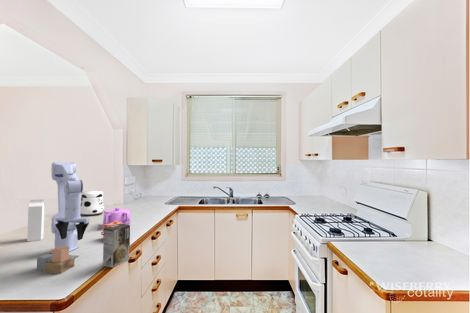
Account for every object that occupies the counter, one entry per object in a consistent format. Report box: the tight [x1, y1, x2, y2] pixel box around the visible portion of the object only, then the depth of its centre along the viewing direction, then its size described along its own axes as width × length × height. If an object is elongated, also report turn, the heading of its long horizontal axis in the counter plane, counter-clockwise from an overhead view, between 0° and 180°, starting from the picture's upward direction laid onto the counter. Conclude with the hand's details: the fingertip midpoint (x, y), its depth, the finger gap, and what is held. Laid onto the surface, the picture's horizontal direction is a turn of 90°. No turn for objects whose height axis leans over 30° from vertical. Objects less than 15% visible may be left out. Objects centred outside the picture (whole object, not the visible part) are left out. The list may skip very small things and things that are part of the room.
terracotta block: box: [51, 246, 70, 263], centre depth 100 cm, size 4×4×5 cm
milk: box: [26, 199, 45, 242], centre depth 135 cm, size 6×6×22 cm
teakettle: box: [102, 206, 131, 228], centre depth 166 cm, size 17×17×12 cm
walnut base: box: [44, 257, 76, 274], centre depth 100 cm, size 7×7×4 cm
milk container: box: [80, 190, 105, 216], centre depth 197 cm, size 17×17×18 cm
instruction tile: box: [69, 254, 79, 259], centre depth 110 cm, size 8×6×1 cm
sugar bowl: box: [100, 221, 123, 238], centre depth 139 cm, size 12×14×10 cm
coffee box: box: [102, 223, 131, 269], centre depth 107 cm, size 9×6×16 cm
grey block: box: [36, 253, 52, 271], centre depth 101 cm, size 4×4×5 cm
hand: (71, 239), depth 106 cm, fingers open, 7 cm apart
